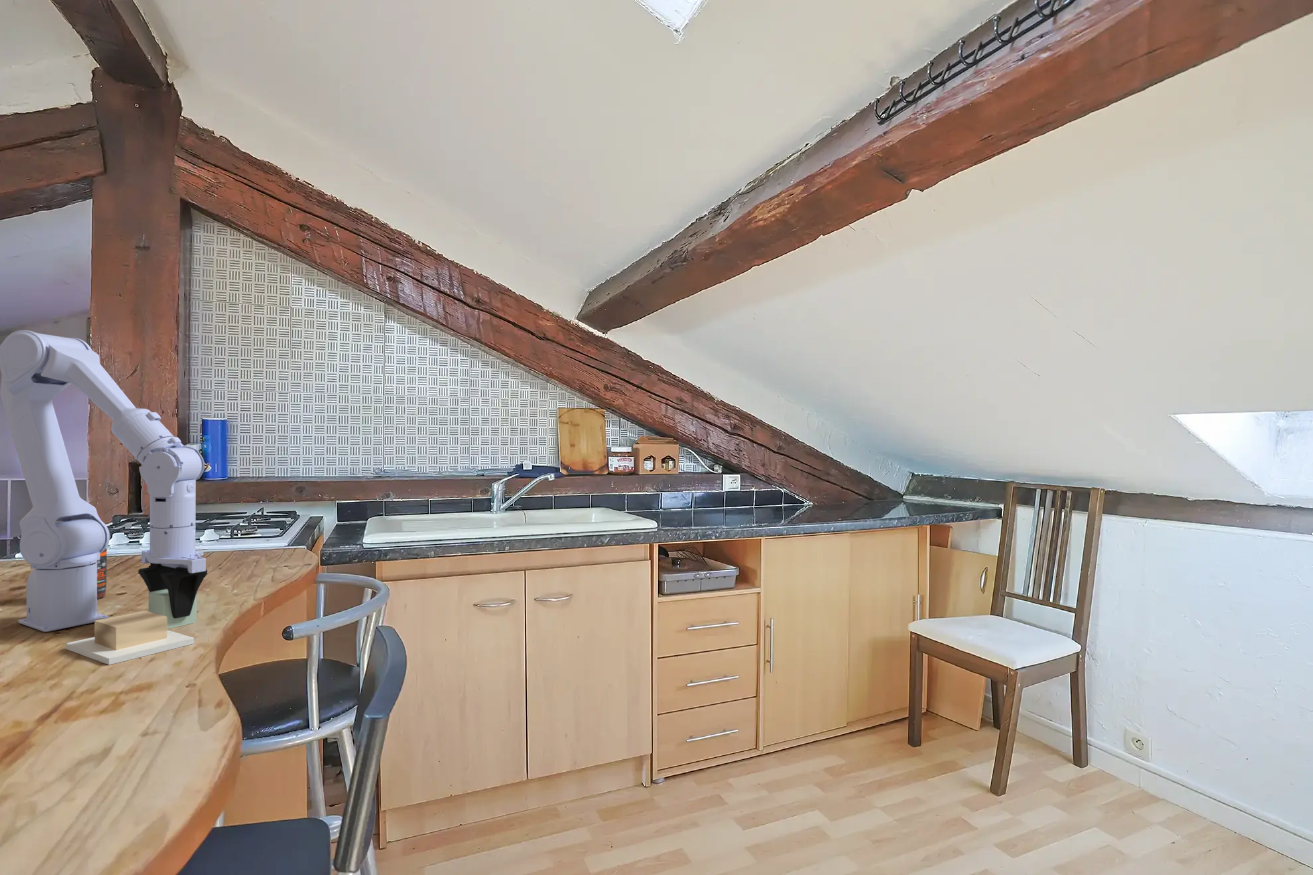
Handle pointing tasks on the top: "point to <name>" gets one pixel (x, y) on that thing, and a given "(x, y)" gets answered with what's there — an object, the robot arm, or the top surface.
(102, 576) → the supplement bottle
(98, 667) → the top surface
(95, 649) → the build base
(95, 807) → the top surface
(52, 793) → the top surface
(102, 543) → the robot arm
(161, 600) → the sage block
